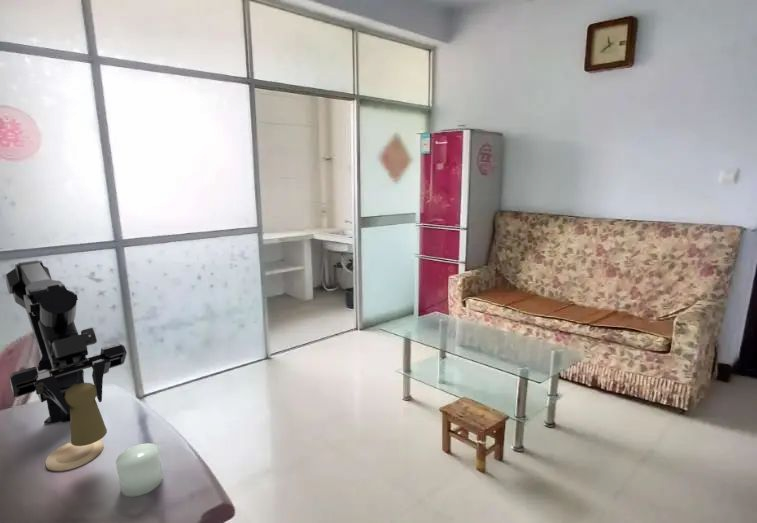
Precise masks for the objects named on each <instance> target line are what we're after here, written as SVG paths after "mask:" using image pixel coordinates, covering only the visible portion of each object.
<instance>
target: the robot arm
mask: <svg viewBox="0 0 757 523" xmlns="http://www.w3.org/2000/svg"><path fill="white" fill-rule="evenodd" d="M5 282H6V287H7V291H8V293H9V295H12V296H13V298H14V299H13V300H14V302H15V303H16V304H17V305H19V306H20V307H23V308H24V309H25V311H26V314H27V318H28V320H29V323H30V326H31V330H32V333H33V336H34V339H35V344H36V346H37V351H38V353H39V355H40V360H39V363H38V365H37V367H36V366H33V367H29V368H26V369H21V370H18V371H14V372H12V373H11V374H10V376H9V382H10V387H11V391H12V395H13V397H14V398H19V397H22V396H25V395H28V394H31V393H34V392H35V394H36V395H37V397H38V398H39V400H40V402H41V403H44V402H46V405H47V409H48V410H47V411H48V414H49V416H48V417H47V418H46V419H45V420H44V421H43V423H44V424H43V425H49V424H50V425H51V424H56V423H65V422H70V406H69V405H68V404H67V403H66V401H65V393H66V391H67V390H68V389H69V388H70V387H72V386H74V385H77V384H80V383H85V379H84V378H85V377H84V375H85V372H84V370H85V369H88V368H91V369H92V373H91V377H92V380H93V381H92V382H93V385H94V386H95V387H96V389H97V396H96V398H97V400H98V403H102V402H103V382H104V381H103V380H104V379H103V378H104V375H105V374H107V373H109V371H110V369H111V368H112V369H113V368H115V367H118V366H122V365H124V363H125V361H126V358H127V357H126V356H127V353H128V352H127V350H126V347H125V345H123V344H121V343H120V342H119V343H115V344H111V345H107V346H105V347H101V348H100V352H99V353H100V354H97V355H93V356H91V357H87V356H88V355H89V352H88V351H89V350H88V346H91V345H95V344H97V342H98V340H97V337H96V336H97V335H96V333H95V330H94V328H93V327H89V328H85V329H82V330H81V331H80V334H79V333H78V329H77V326H76V324H75V319H76V313H77V305H78V304H77V303H78V295H77V293H75V292H74V291H72V290H71V288H70V287H68V286H67V287H66V285H65V283H63V282H62V281H60V280H53V279H52V276H51V273H50V269H49V267H48V266H47V267H46V266H45V265H44V264H43V261H42V260H38V259H37V260H36V259H35V260H29V261H22V262H18V263H16V264H14V268H13V269H12V270H10V271H9V272H8V273H6V275H5Z"/></svg>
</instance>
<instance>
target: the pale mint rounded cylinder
mask: <svg viewBox="0 0 757 523" xmlns="http://www.w3.org/2000/svg"><path fill="white" fill-rule="evenodd" d="M115 465H116V471H117V476H118V481H119V486H120V491H121V494H122V495H123V496H125V497H129V498H132V497H133V498H134V497H140V496H143V495H145V494H148V493H150V492H152V491H153V490H156V488H157V487H159V486H160V485H161V483H162V481H163V479H164V475H163V474H164V473H163V469H162V468H163V466H162V461H161V456H160V448H159V446H158V445H157V444H155V443H148V442H147V443H140V444H137V445H134V446H131V447H129V448H126V449H125V450H124V451H122V452H120V454H119V455H118V456H117V457H116V459H115Z"/></svg>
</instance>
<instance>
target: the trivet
mask: <svg viewBox="0 0 757 523" xmlns="http://www.w3.org/2000/svg"><path fill="white" fill-rule="evenodd" d="M102 451H104V442H103V440H102V439H100V440H98V441H97V442H94V443H92V444H89V445H85V446H74V445H72V444H71V441H70V442H68V443H66V444H63V445H61V446H60V447H58V448H56V449H55V450H54V451H52V452H51V453H50V454H49V455H48V456H47V457H46V459H45V466H46V468H47V469H48V470H50V471H52V472H53V471H54V472H62V471H68V470H73V469H75V468H78V467H81V466H83V465H85V464H87V463H90V462H91V461H93V460H94V459H95V458H97V457H98V456H99V455H100V454H101V453H102Z"/></svg>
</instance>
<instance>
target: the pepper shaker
mask: <svg viewBox="0 0 757 523" xmlns="http://www.w3.org/2000/svg"><path fill="white" fill-rule="evenodd" d="M96 398H97V389H96V387H95V386H94V383H91V382H84V383H80V384H77V385H74V386H72V387H70V388H69V389H68V390H67V391H66V393H65V401H66V403H67V404H68V405H69V406H70V421H69V423H70V426H69V427H70V442H71V444H72V445H74V446H85V445H89V444H92V443H94V442H97V441H98V440H102V439H103V438H104V437H105V436H106V434H107V433H108V430H107V426H106V424H105V422H104V419H103V417H102V414H101V411H100V408H99V405H98V402H97V401H96Z"/></svg>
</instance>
